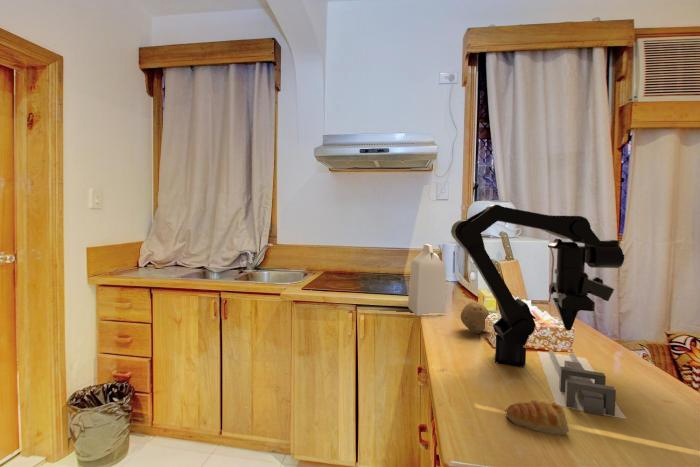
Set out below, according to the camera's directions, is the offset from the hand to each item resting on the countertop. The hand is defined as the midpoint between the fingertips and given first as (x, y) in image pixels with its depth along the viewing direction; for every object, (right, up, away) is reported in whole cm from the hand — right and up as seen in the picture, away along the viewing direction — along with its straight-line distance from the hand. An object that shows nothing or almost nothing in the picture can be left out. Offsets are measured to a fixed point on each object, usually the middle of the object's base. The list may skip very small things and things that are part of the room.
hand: (568, 329), depth 83 cm
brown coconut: (-14, -8, +24) cm, 29 cm away
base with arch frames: (-4, -10, -7) cm, 12 cm away
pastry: (-20, -11, -23) cm, 32 cm away
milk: (-24, -7, +48) cm, 54 cm away
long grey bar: (-6, -9, -13) cm, 17 cm away
